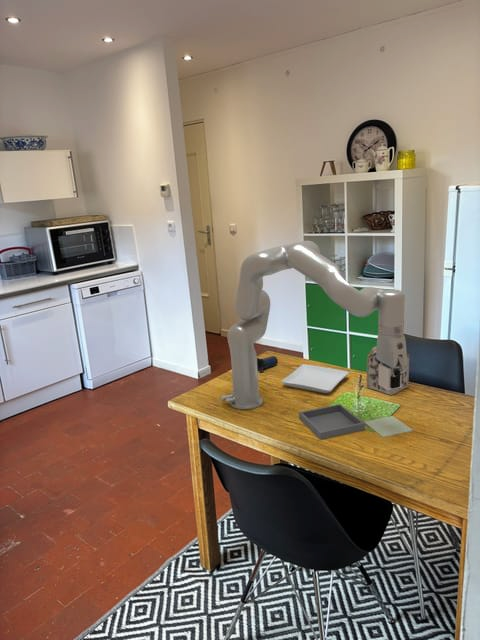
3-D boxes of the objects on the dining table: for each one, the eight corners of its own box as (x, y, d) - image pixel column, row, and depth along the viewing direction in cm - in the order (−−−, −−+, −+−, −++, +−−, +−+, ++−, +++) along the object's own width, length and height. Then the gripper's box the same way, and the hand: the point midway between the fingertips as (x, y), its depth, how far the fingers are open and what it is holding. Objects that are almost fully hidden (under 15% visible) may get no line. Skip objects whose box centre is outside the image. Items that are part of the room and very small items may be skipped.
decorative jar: (365, 388, 192) (366, 344, 188) (382, 379, 200) (383, 337, 195) (392, 396, 184) (393, 351, 179) (409, 387, 191) (411, 343, 186)
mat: (383, 439, 154) (383, 436, 154) (364, 424, 164) (364, 421, 164) (412, 432, 157) (413, 429, 157) (392, 417, 167) (392, 415, 167)
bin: (320, 441, 155) (320, 432, 154) (299, 420, 169) (298, 412, 169) (364, 431, 159) (365, 423, 158) (340, 411, 174) (340, 403, 173)
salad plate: (330, 398, 186) (330, 389, 185) (280, 388, 197) (280, 380, 196) (349, 378, 203) (350, 370, 202) (303, 370, 214) (302, 363, 213)
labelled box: (387, 390, 154) (388, 368, 152) (378, 384, 158) (378, 363, 156) (401, 387, 155) (401, 366, 153) (391, 382, 160) (392, 361, 158)
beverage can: (261, 376, 214) (280, 370, 222) (264, 360, 211) (282, 354, 219) (247, 368, 219) (265, 362, 227) (249, 352, 217) (268, 347, 225)
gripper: (419, 335, 145) (416, 392, 150) (385, 321, 161) (384, 373, 165) (397, 338, 143) (395, 396, 148) (365, 324, 158) (364, 377, 163)
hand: (389, 383), depth 156 cm, fingers closed on labelled box, 5 cm apart
